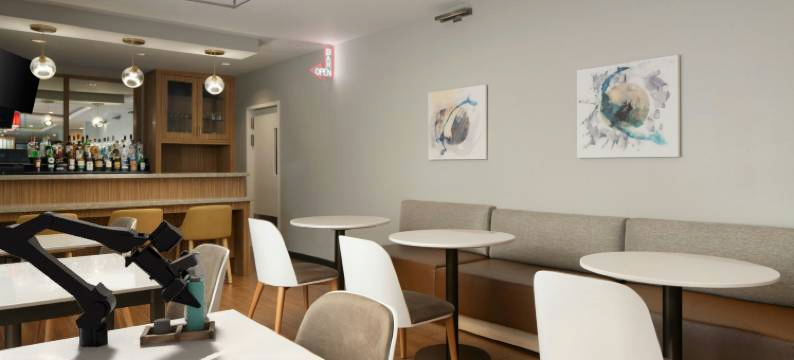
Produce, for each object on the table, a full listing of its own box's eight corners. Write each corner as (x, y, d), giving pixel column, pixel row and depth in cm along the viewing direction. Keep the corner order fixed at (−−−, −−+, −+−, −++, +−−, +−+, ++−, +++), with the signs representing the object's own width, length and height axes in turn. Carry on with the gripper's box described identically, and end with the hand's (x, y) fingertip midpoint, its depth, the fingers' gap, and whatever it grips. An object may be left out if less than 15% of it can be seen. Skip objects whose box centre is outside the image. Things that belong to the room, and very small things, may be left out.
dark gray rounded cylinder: (150, 338, 146) (150, 321, 145) (163, 334, 149) (163, 317, 149) (161, 340, 144) (160, 323, 144) (174, 336, 147) (173, 319, 147)
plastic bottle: (192, 326, 160) (191, 256, 159) (179, 321, 164) (178, 253, 163) (212, 320, 165) (211, 253, 164) (198, 316, 169) (197, 250, 168)
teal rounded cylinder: (182, 330, 148) (182, 278, 147) (195, 326, 152) (194, 275, 151) (195, 333, 146) (195, 280, 145) (207, 328, 150) (207, 277, 149)
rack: (140, 349, 141) (139, 337, 141) (145, 337, 150) (145, 326, 150) (213, 342, 146) (213, 331, 145) (215, 331, 155) (214, 320, 154)
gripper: (174, 248, 138) (222, 290, 141) (181, 237, 156) (223, 275, 159) (140, 282, 136) (189, 323, 139) (151, 267, 154) (194, 304, 157)
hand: (200, 304), depth 149 cm, fingers closed on teal rounded cylinder, 4 cm apart
